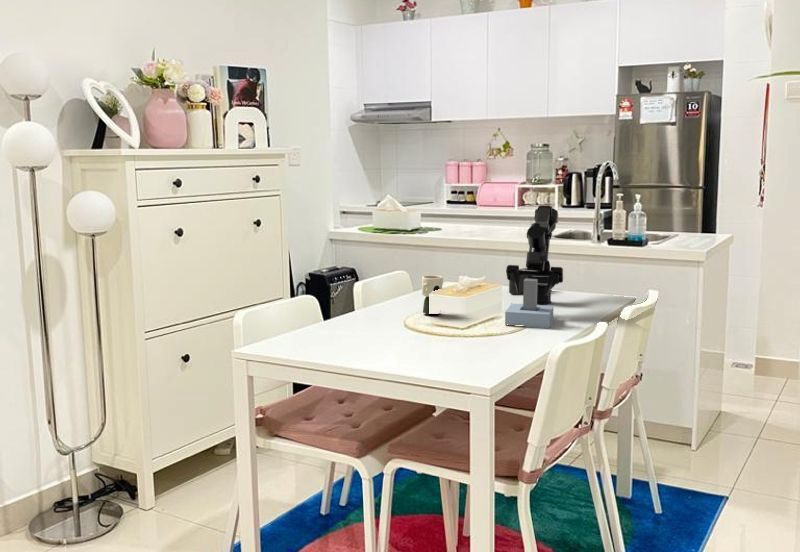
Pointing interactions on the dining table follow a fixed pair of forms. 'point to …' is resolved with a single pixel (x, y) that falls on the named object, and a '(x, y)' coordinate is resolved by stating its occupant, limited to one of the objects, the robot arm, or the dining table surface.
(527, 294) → the gray block
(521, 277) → the leaning round-cornered charcoal block
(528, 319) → the socket block
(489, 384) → the dining table surface
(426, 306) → the character mug
